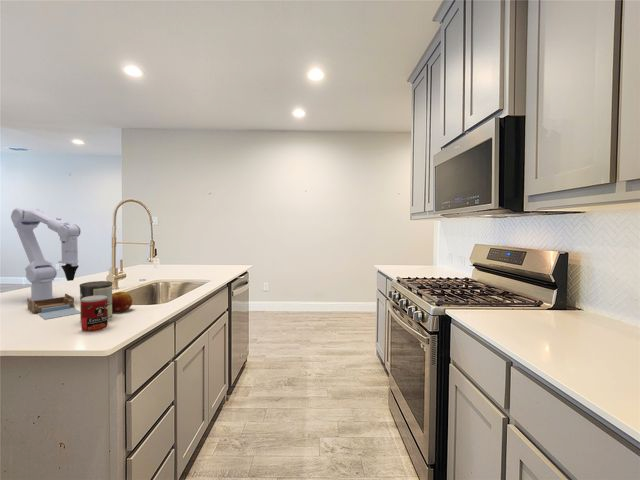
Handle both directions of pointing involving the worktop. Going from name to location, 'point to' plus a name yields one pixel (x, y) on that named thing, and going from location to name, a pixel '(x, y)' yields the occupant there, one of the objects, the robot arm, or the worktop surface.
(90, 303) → the canned food
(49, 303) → the box
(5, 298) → the worktop surface
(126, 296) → the fruit
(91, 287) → the coffee can
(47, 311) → the lid
